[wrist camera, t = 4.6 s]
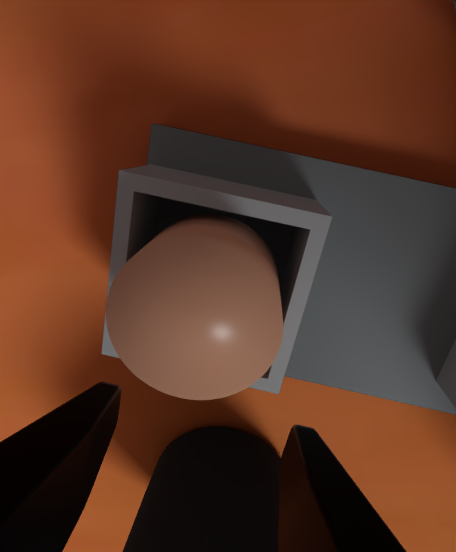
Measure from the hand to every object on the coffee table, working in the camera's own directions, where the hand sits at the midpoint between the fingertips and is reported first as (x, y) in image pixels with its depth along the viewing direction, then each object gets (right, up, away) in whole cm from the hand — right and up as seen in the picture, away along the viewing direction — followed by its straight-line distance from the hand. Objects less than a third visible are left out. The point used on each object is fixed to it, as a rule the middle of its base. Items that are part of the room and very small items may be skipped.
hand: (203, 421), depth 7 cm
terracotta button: (0, +3, +8) cm, 8 cm away
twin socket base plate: (+8, +2, +12) cm, 14 cm away
